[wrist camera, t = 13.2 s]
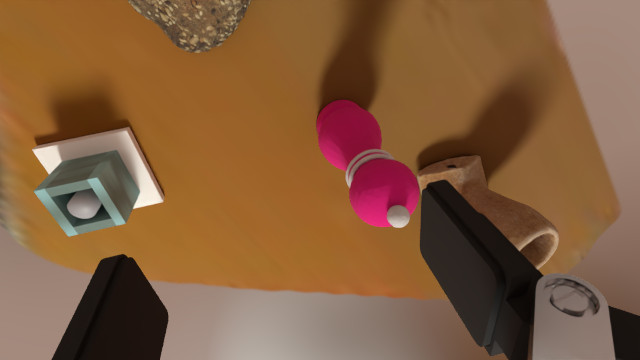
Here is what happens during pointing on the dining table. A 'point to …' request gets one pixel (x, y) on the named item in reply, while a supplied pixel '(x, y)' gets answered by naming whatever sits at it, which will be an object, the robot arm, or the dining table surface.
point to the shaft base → (120, 140)
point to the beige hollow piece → (496, 207)
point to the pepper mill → (367, 165)
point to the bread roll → (194, 20)
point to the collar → (86, 173)
